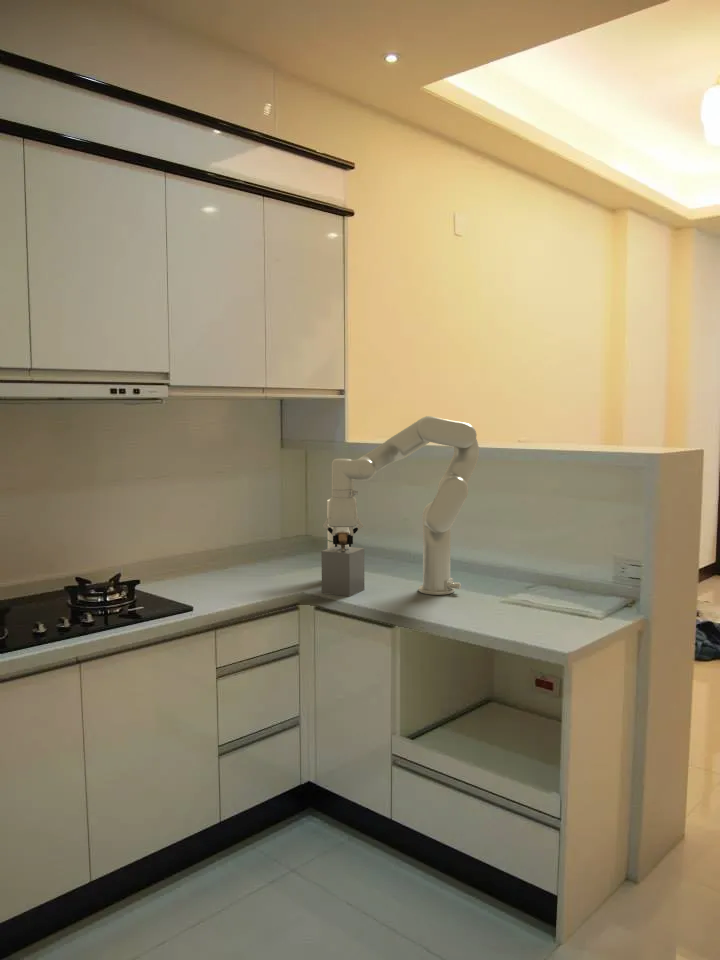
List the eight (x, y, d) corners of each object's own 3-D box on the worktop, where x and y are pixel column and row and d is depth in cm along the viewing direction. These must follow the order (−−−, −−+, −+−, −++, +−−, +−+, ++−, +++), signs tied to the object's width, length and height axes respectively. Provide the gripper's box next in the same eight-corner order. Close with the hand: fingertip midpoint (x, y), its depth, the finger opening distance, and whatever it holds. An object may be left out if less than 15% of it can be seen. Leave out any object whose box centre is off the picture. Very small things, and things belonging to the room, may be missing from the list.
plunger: (358, 586, 269) (358, 531, 267) (347, 591, 262) (347, 535, 260) (339, 584, 272) (338, 530, 270) (328, 589, 265) (327, 533, 263)
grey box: (364, 589, 269) (364, 548, 268) (349, 596, 260) (349, 553, 258) (337, 586, 274) (337, 545, 273) (321, 593, 265) (321, 551, 263)
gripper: (367, 493, 267) (367, 544, 269) (319, 493, 268) (319, 544, 269) (367, 495, 260) (367, 548, 262) (317, 495, 260) (318, 548, 262)
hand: (343, 545), depth 265 cm, fingers closed on plunger, 4 cm apart
